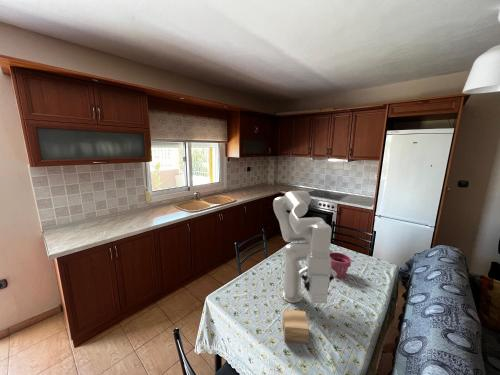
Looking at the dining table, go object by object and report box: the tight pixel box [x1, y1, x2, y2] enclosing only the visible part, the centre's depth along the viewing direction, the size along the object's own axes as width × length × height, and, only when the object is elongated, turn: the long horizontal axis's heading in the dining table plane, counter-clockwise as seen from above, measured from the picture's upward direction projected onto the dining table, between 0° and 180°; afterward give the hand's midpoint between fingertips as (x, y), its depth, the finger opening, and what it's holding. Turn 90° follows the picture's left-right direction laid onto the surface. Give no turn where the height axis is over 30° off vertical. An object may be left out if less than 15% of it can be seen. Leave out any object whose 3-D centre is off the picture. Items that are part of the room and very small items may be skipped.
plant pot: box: [330, 251, 352, 279], centre depth 139 cm, size 14×14×13 cm
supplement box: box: [304, 275, 330, 305], centre depth 91 cm, size 7×7×13 cm
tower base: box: [282, 317, 309, 345], centre depth 95 cm, size 10×10×4 cm
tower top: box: [282, 309, 310, 338], centre depth 94 cm, size 10×10×4 cm
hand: (316, 288), depth 91 cm, fingers closed on supplement box, 7 cm apart
